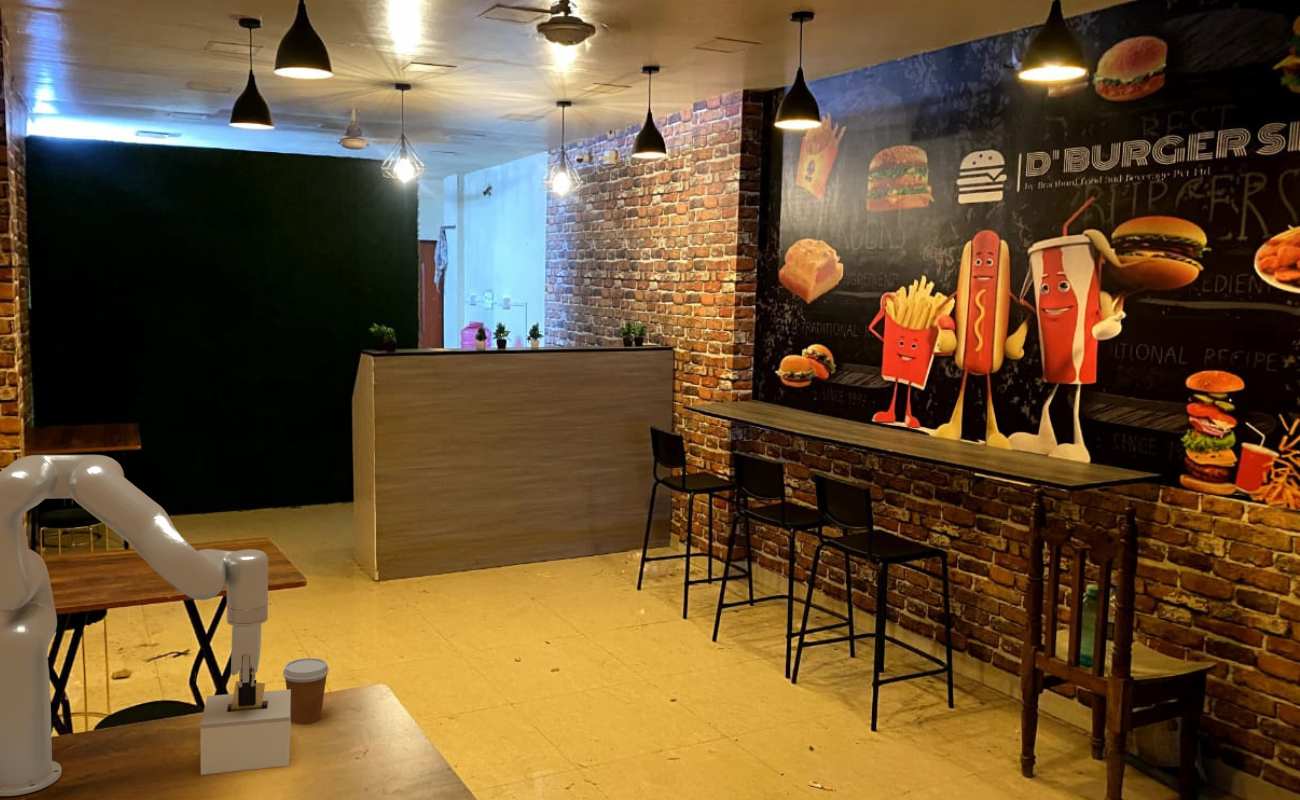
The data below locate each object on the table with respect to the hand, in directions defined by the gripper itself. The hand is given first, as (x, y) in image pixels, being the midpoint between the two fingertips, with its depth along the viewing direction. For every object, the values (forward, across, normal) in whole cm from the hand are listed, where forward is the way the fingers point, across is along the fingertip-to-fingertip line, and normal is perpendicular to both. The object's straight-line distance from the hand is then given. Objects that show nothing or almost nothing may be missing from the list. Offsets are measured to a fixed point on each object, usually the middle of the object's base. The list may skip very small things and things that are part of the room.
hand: (247, 701), depth 203 cm
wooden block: (-1, 0, +3) cm, 3 cm away
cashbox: (+11, 0, 0) cm, 11 cm away
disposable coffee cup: (+11, -15, +11) cm, 22 cm away
